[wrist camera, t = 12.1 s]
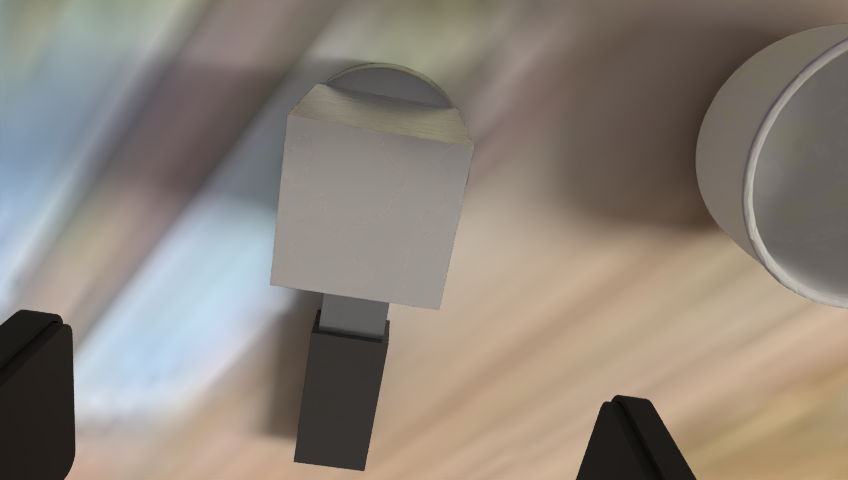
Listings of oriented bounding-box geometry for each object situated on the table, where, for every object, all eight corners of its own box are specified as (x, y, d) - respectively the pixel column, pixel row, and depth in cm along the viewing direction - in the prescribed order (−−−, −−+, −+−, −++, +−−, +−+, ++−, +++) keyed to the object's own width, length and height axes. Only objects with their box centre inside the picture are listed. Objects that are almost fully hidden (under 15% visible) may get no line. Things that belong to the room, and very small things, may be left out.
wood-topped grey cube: (457, 108, 27) (474, 147, 20) (431, 237, 29) (439, 310, 22) (317, 83, 26) (287, 114, 20) (301, 216, 28) (269, 285, 22)
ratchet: (402, 446, 36) (402, 520, 31) (263, 427, 36) (239, 500, 31) (481, 80, 29) (497, 100, 24) (306, 47, 28) (284, 60, 23)
